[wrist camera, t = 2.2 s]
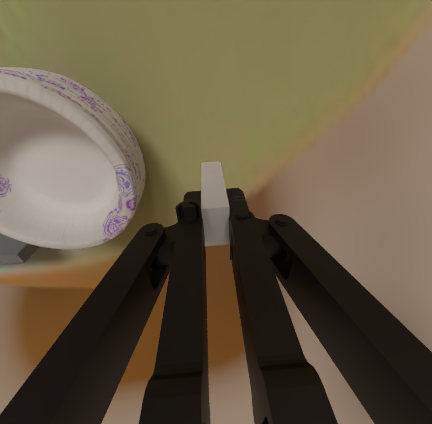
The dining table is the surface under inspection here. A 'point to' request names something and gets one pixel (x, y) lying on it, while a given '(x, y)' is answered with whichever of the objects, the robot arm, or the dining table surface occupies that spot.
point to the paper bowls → (64, 163)
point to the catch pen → (14, 250)
